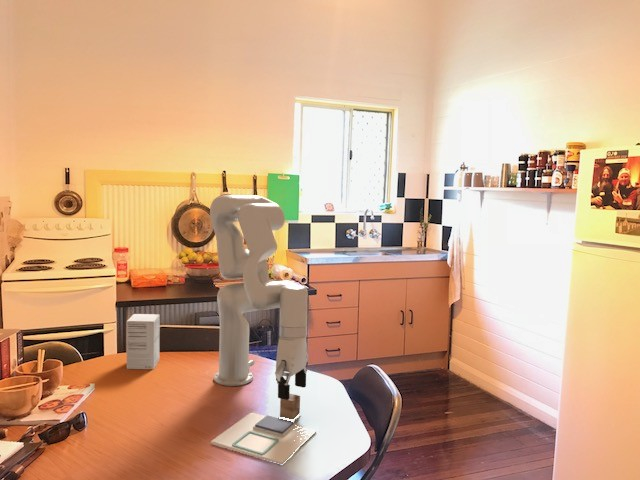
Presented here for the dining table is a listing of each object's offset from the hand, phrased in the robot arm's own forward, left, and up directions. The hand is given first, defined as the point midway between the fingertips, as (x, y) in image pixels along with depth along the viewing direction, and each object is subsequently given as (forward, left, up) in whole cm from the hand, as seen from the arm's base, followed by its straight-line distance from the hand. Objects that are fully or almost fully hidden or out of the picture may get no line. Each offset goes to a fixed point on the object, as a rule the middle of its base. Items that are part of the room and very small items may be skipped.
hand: (292, 392), depth 137 cm
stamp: (0, -1, -8) cm, 8 cm away
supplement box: (-10, -64, -8) cm, 65 cm away
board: (+13, -1, -8) cm, 15 cm away
